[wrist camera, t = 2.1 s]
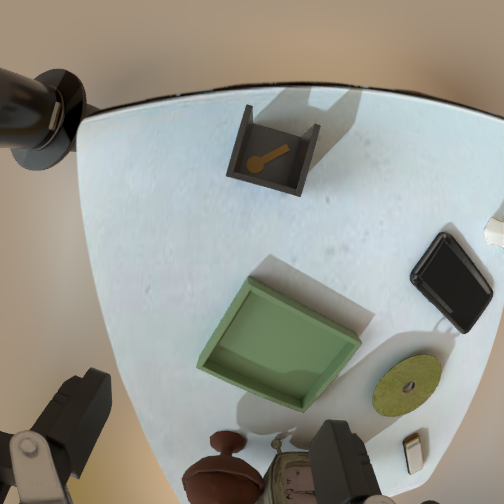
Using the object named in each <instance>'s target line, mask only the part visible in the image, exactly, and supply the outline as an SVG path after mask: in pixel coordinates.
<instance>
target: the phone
mask: <svg viewBox="0 0 504 504" xmlns="http://www.w3.org/2000/svg"><path fill="white" fill-rule="evenodd" d="M410 281H411V283H412V284H413V285H414V286H415V287H416V288H417V289H418V290H419V291H420V292H421V293H422V294H423V295H424V296H425V297H426V298H427V299H428V300H429V301H430V302H431V303H432V304H433V305H434V306H435V307H436V308H437V309H438V310H439V311H440V312H441V313H442V314H443V315H444V316H445V317H446V318H447V319H448V320H449V321H450V322H451V323H452V324H453V325H454V326H455V327H456V328H457V329H458V330H459V331H460V332H461V333H462V334H466V333H468V332H469V331H470V330H471V328H472V327H473V325H474V324H475V323H476V321H477V320H478V319H479V317H480V316H481V314H482V313H483V312H484V310H485V309H486V307H487V306H488V304H489V303H490V301H491V300H492V297H493V290H492V289H491V287H490V286H489V284H488V283H487V281H486V280H485V278H484V277H483V276H482V274H481V273H480V271H479V270H478V269H477V267H476V266H475V265H474V263H473V262H472V261H471V259H470V258H469V257H468V255H467V254H466V253H465V251H464V250H463V249H462V248H461V246H460V245H459V244H458V243H457V241H456V240H455V239H454V238H453V236H452V235H451V234H448V233H445V232H441V233H439V234H438V235H437V237H436V238H435V240H434V241H433V242H432V244H431V245H430V247H429V248H428V250H427V251H426V253H425V254H424V255H423V257H422V258H421V260H420V261H419V262H418V264H417V265H416V266H415V268H414V269H413V270H412V272H411V275H410Z"/></svg>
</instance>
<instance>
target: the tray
mask: <svg viewBox="0 0 504 504" xmlns="http://www.w3.org/2000/svg"><path fill="white" fill-rule="evenodd" d="M361 344H362V342H361V340H360V339H359V337H358V335H357V334H356V333H354V332H353V331H351V330H349V329H347V328H345V327H343V326H341V325H339V324H337V323H335V322H333V321H332V320H330V319H328V318H326V317H324V316H322V315H320V314H318V313H316V312H315V311H313V310H311V309H309V308H307V307H305V306H303V305H301V304H300V303H298V302H296V301H294V300H292V299H290V298H288V297H287V296H285V295H283V294H281V293H279V292H277V291H275V290H274V289H272V288H270V287H268V286H266V285H264V284H263V283H261V282H259V281H257V280H255V279H253V278H252V277H250V276H248V277H247V279H246V280H245V282H244V284H243V285H242V287H241V289H240V290H239V292H238V294H237V295H236V297H235V299H234V300H233V302H232V304H231V305H230V307H229V308H228V310H227V312H226V313H225V315H224V317H223V318H222V320H221V322H220V323H219V325H218V327H217V328H216V330H215V332H214V333H213V335H212V336H211V338H210V340H209V341H208V343H207V345H206V346H205V348H204V350H203V351H202V353H201V354H200V356H199V359H198V363H197V366H196V368H198V369H201V370H202V371H204V372H207V373H209V374H211V375H213V376H215V377H217V378H219V379H221V380H224V381H226V382H228V383H230V384H232V385H235V386H237V387H239V388H241V389H244V390H246V391H248V392H251V393H253V394H255V395H258V396H260V397H263V398H265V399H268V400H270V401H273V402H275V403H278V404H281V405H283V406H286V407H288V408H291V409H294V410H297V411H299V412H302V413H304V412H305V411H306V410H307V409H308V408H309V407H310V406H311V405H312V403H313V402H314V401H315V400H316V399H317V398H318V397H319V396H320V394H321V393H322V392H323V391H324V390H325V389H326V388H327V386H328V385H329V384H330V383H331V382H332V381H333V379H334V378H335V377H336V376H337V375H338V373H339V372H340V371H341V370H342V369H343V367H344V366H345V365H346V364H347V362H348V361H349V360H350V359H351V357H352V356H353V355H354V353H355V352H356V351H357V350H358V348H359V347H360V346H361Z"/></svg>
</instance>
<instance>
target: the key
mask: <svg viewBox="0 0 504 504" xmlns="http://www.w3.org/2000/svg"><path fill="white" fill-rule="evenodd" d="M289 151H290V149H289V147H288V146H287V144H285V145H283V146H281V147H279V148H277V149H275V150H274V151H272V152H270V153H268V154H266V155H264V156H262V157H261V158H260V157H258V156H253V157H250V158H249V159H248V160H247V163H246V167H247V169H248V171H249V172H251V173H253V174H258V173H260V172H261V171H262V170H263V169H264V164H266V163H268V162H270V161H272V160H274V159H276V158H277V157H279V156H281V155H283V154H285V153H287V152H289Z"/></svg>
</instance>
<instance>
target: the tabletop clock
mask: <svg viewBox="0 0 504 504" xmlns="http://www.w3.org/2000/svg"><path fill="white" fill-rule="evenodd" d="M271 446H272V447H273V448H274V449H277V452H278V454H276V456H275V458H274V459H273V461H272V463H271V465H270V467H269V468H268V470H267V472H266V474H265V475H264V477H263V482H264V490H263V493H262V495H261V496H260V498H259V499H258V500H257V502H256V504H317V501H316V495H315V489H314V483H313V478H312V472H311V466H310V461H309V452H284V453H282V451H281V449H280V447H281V446H282V442H281V441H280V440H278V439H275V440H273V441H272V442H271Z"/></svg>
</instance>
